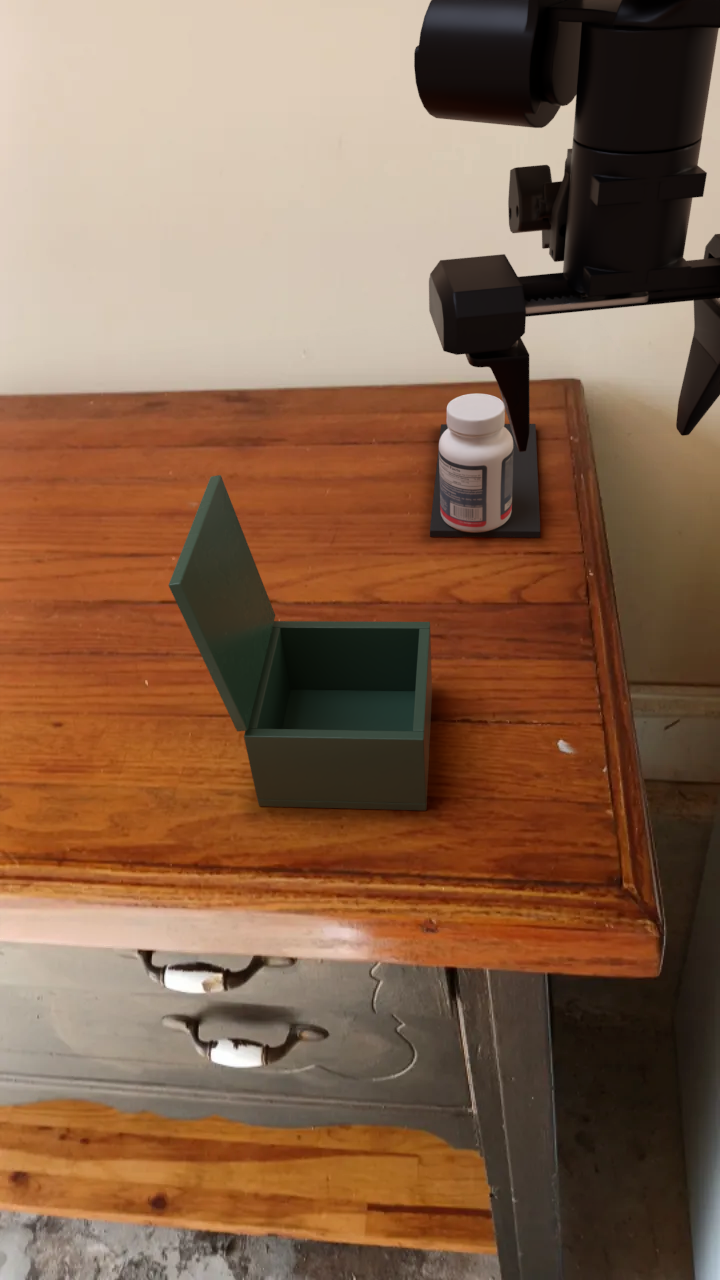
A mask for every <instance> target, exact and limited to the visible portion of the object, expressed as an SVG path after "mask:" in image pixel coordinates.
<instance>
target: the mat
mask: <svg viewBox="0 0 720 1280" xmlns="http://www.w3.org/2000/svg"><path fill="white" fill-rule="evenodd" d="M504 427H505V428H506V429H507V430H508V431H509V432H510V434H511V436H512V438H513V484H512V511H511V515H510V517H509V519H508V520H507V521H506V522H505V523H504V524H503V525H501V526H500V527H498V528H495V529H493V530H490V531H486V532H465V531H460V530H457V529H455V528H453V527H451V526H449V525H448V524H447V523H446V522H445V521H444V520H443V518H442V516H441V509H440V474H439V448H438V451H437V459H436V468H435V476H434V477H435V479H434V486H433V497H432V506H431V517H430V523H429V524H430V525H429V537H431V538H440V537H441V538H510V539H511V538H515V539H516V538H520V539H521V538H522V539H524V538H525V539H526V538H527V539H529V538H530V539H531V538H532V539H539V538H541V516H540V514H541V513H540V493H539V491H540V490H539V474H538V473H539V471H538V469H539V468H538V449H537V448H538V447H537V425H536V423H530V433H529V439H528V444H527V450H526V451H524V452H519V450H518V447H517V445H516V442H515V439H514V436H513V432H512V429H511V426H510V423H505V424H504ZM447 429H448V426H447V423H442V424H440V430H439V440H438V442H439V441H440V438H441V436H442V434H443V433H444V432H445V431H446V430H447Z"/></svg>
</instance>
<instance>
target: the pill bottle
mask: <svg viewBox="0 0 720 1280" xmlns="http://www.w3.org/2000/svg"><path fill="white" fill-rule="evenodd" d="M445 424H447V426H448V429H447V430H446V431H445V432H444V433H443V434H442V436H441V438H440V437H439V439H440V441H439V440H438V449H439V474H440V509H441V516H442V518H443V520H444V521H445V522H446V523H447V524H448V525H449V526H451V527H453V528H455V529H457V530H460V531H465V532H486V531H490V530H493V529H495V528H498V527H500V526H501V525H503V524H504V523H505V522H506V521H507V520H508V519H509V517H510V515H511V511H512V484H513V438H512V436H511V434H510V432H509V431H508V430H507V429H506V428H505V427H504V424H506V409H505V406H504V403H503V400H502V399H500V398H499V397H497V396H494V395H493V394H487V393H466V394H463V395H460V396H457V397H454V398H453V399H451V400H450V401H449V402H448V403H447V406H446V423H445Z"/></svg>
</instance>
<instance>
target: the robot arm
mask: <svg viewBox="0 0 720 1280" xmlns="http://www.w3.org/2000/svg"><path fill="white" fill-rule="evenodd" d="M719 30H720V0H430V2H429V3H428V7H427V8H426V12H425V14H424V17H423V21H422V25H421V28H420V34H419V41H418V45H417V46H415V49H414V53H413V56H414V57H413V58H414V59H413V60H414V61H413V66H414V67H413V68H414V78H415V79H414V80H415V85H416V90H417V93H418V97H419V99H420V102H421V104H422V107H423V108H424V109H425V111H426V112H427V113H428V114H429V116H432V117H433V118H435V119H441V120H452V121H461V122H470V123H471V122H473V123H482V124H492V125H502V126H514V127H522V128H531V129H532V128H534V129H543V128H546V127H547V126H548V125H549V124H550V123H551V122H552V121H553V120H554V118H555V117H556V116H557V114H558V112H559V111H560V109H561V107H565V106H568V105H569V104H571V103H572V102H573V100H574V99H575V107H574V120H573V134H572V135H573V137H572V145H571V146H572V147H571V148H567V151H566V158H565V160H564V171H563V172H564V173H563V177H562V180H560V181H553V177H552V172H551V171H552V170H551V167H550V165H548V164H540V165H528V166H517V167H514V168H511V169H510V170H509V183H508V201H507V202H508V203H507V205H508V206H507V207H508V227H509V231H510V232H511V233H512V234H521V233H530V232H531V233H532V232H541V248H542V250H543V249H544V250H545V249H549V250H548V255H549V256H550V258H551V259H552V260H553V262H554V263H557V262H563V263H562V265H563V266H562V272H553V273H542V274H532V275H524V276H523V275H522V276H518V274H517V273H516V271H515V269H514V267H513V266H512V264H511V262H510V261H509V259H508V257H507V255H506V254H505V253H501V254H492V255H481V256H480V255H479V256H471V257H460V258H449V259H440V260H439V261H438V262H437V264H436V265H435V267H434V268H433V269H432V271H431V272H430V273H429V278H428V312H429V314H430V317H431V320H432V322H433V323H432V324H433V325H434V329H435V332H436V334H437V337H438V340H439V343H440V345H441V348H442V350H443V352H446V353H449V354H452V355H456V356H459V355H465V357H466V361H467V362H468V364H469V365H470V366H472V367H474V368H490V370H491V372H492V375H493V376H494V378H495V381H496V383H497V387H498V389H499V392H500V396H501V401H502V402H503V403H504V406H505V414H506V417H507V419H508V422H509V423H508V424H510V426H511V429H512V432H513V436H514V439H515V442H516V445H517V447H518V450H519V452H524V451H526V450H527V444H528V439H529V433H530V424H531V421H530V419H531V417H530V416H531V415H530V413H531V412H530V411H531V410H530V408H531V407H530V402H531V401H530V399H531V398H530V397H531V396H530V353H529V351H528V349H527V347H526V345H525V343H524V341H523V339H522V338H521V337H523V336H524V335H525V333H526V322H527V317H538V316H539V317H540V316H546V315H558V314H566V313H567V314H569V313H578V312H580V313H581V312H587V311H589V312H590V311H599V310H610V309H620V308H631V307H640V306H641V307H642V306H652V305H661V304H672V303H682V302H683V303H684V302H692V301H693V318H694V319H693V323H694V326H693V327H694V328H693V336H692V339H691V343H690V348H689V353H688V356H687V357H688V358H687V361H686V365H685V370H684V374H683V379H682V384H681V388H680V392H679V397H678V402H677V412H676V423H675V426H676V430H677V432H678V433H679V435H681V436H682V437H684V436H689V435H690V434H691V433H692V432H693V430H695V428H696V426H697V425H698V424H699V423H700V421H701V420H702V419H703V417H704V416H705V415H706V414H707V412H708V411H709V410H710V408H711V407H712V406H713V405H714V403H715V402H716V401H717V400H718V399H719V397H720V233H714V235H713V236H712V237H711V239H710V240H709V241H708V243H707V244H706V245H705V248H704V255H703V258H701V259H689V260H687V259H685V258H684V255H685V248H686V242H687V236H688V228H689V223H690V216H691V210H692V203H693V199H695V198H703V197H704V193H705V187H706V180H707V177H708V176H707V175H708V172H706V170H704V169H703V168H701V167H700V166H699V165H698V164H699V159H700V153H701V152H700V151H701V145H702V141H703V133H704V125H705V118H706V112H707V106H708V99H709V93H710V86H711V80H712V74H713V68H714V61H715V54H716V48H717V42H718V35H719Z"/></svg>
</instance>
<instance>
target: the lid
mask: <svg viewBox="0 0 720 1280" xmlns="http://www.w3.org/2000/svg"><path fill="white" fill-rule="evenodd" d="M168 588H169V589H170V592H171V594H172V596H173V598H174V600H175V603H176V605H177V606H178V607H177V608H178V609H179V612H180V613H181V615H182V618H183V619H184V621H185V624H186V626H187V629H188V630H189V632H190V635H191V637H192V639H193V641H194V643H195V645H196V647H197V649H198V651H199V654H200V655H201V658H202V660H203V662H204V665H205V666H206V668H207V670H208V673H209V675H210V677H211V679H212V682H213V683H214V686H215V687H216V690H217V692H218V694H219V696H220V698H221V700H222V703H223V705H224V707H225V710H226V711H227V713H228V715H229V717H230V720H231V722H232V724H233V726H234V728H235V730H236V732H245V731H247V730H248V726H249V722H250V718H251V714H252V710H253V705H254V701H255V697H256V693H257V689H258V685H259V681H260V677H261V673H262V668H263V664H264V660H265V656H266V652H267V648H268V644H269V640H270V636H271V632H272V627H273V623H274V621H275V619H276V614H275V611H274V608H273V605H272V603H271V600H270V597H269V595H268V593H267V590H266V587H265V585H264V583H263V580H262V577H261V575H260V572H259V569H258V567H257V564H256V562H255V560H254V556H253V554H252V551H251V549H250V546H249V544H248V541H247V539H246V536H245V533H244V531H243V528H242V525H241V524H240V521H239V519H238V515H237V514H236V510H235V507H234V505H233V503H232V500H231V497H230V495H229V492H228V490H227V487H226V485H225V482H224V480H223V477H222V475H221V474H219V475H212V476H210V477H209V480H208V483H207V485H206V488H205V490H204V492H203V495H202V498H201V500H200V503H199V505H198V508H197V510H196V513H195V516H194V518H193V521H192V524H191V526H190V529H189V531H188V533H187V536H186V539H185V542H184V544H183V547H182V549H181V551H180V553H179V556H178V560H177V562H176V565H175V567H174V569H173V572H172V574H171V577H170V580H169V582H168Z"/></svg>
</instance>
